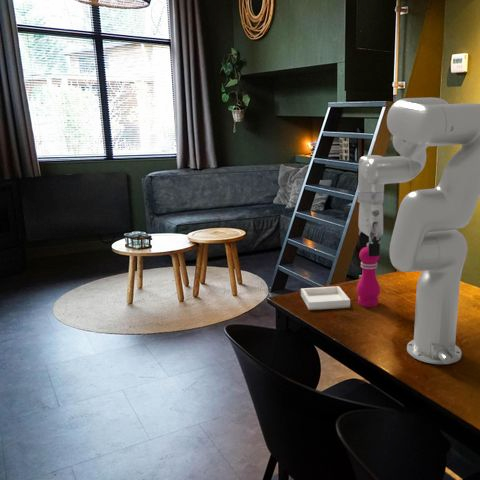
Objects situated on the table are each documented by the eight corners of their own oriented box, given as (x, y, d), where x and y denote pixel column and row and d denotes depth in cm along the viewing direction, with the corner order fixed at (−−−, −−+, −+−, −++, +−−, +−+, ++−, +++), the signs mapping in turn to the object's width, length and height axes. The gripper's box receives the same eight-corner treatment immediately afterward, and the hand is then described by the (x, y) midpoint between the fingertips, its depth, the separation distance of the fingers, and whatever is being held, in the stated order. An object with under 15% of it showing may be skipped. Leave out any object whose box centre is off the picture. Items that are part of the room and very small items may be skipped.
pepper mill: (377, 299, 158) (379, 239, 154) (381, 307, 151) (383, 245, 147) (354, 299, 159) (356, 239, 154) (357, 307, 152) (359, 245, 147)
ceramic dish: (350, 307, 152) (350, 299, 152) (308, 310, 152) (308, 302, 151) (338, 293, 165) (339, 286, 164) (300, 295, 164) (300, 288, 164)
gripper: (393, 201, 139) (390, 259, 144) (373, 191, 156) (371, 243, 160) (367, 202, 139) (365, 260, 143) (350, 192, 155) (348, 244, 160)
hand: (368, 251), depth 152 cm, fingers open, 9 cm apart
